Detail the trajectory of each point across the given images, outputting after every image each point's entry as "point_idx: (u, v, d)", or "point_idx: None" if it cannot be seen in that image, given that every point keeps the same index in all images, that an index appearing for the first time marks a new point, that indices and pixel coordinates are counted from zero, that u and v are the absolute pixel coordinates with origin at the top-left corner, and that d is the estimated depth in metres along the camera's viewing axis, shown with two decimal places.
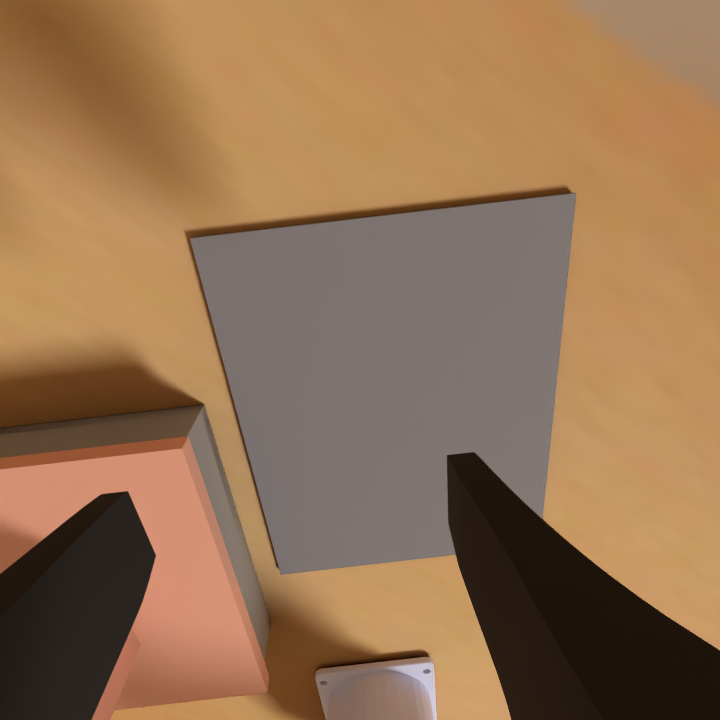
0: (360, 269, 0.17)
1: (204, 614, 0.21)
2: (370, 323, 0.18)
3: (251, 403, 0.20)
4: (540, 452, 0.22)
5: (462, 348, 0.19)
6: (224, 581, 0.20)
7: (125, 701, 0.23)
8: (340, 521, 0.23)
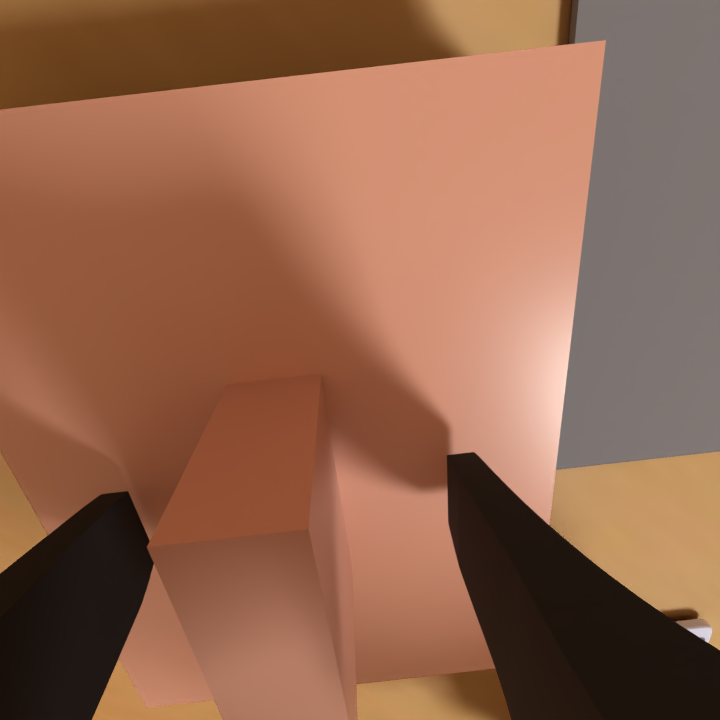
0: None
1: None
2: None
3: (603, 86, 0.10)
4: None
5: None
6: (552, 432, 0.10)
7: None
8: (667, 368, 0.13)
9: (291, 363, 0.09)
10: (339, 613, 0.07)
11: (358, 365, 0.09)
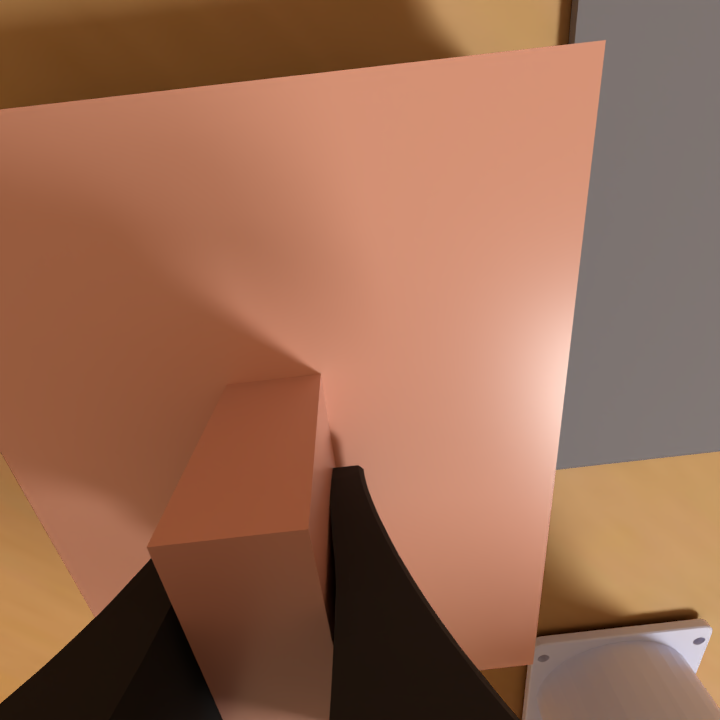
0: None
1: (487, 508, 0.11)
2: None
3: (603, 86, 0.10)
4: None
5: None
6: (551, 432, 0.10)
7: None
8: (667, 368, 0.13)
9: (291, 363, 0.09)
10: None
11: (358, 365, 0.09)
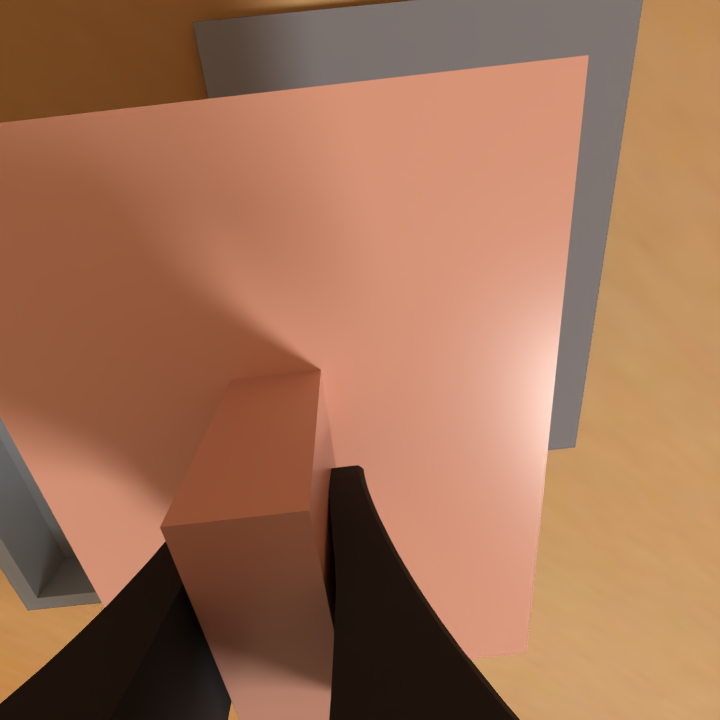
0: (390, 73, 0.15)
1: (480, 499, 0.11)
2: None
3: None
4: (583, 328, 0.19)
5: None
6: (542, 426, 0.10)
7: None
8: None
9: (292, 359, 0.09)
10: None
11: (356, 361, 0.09)
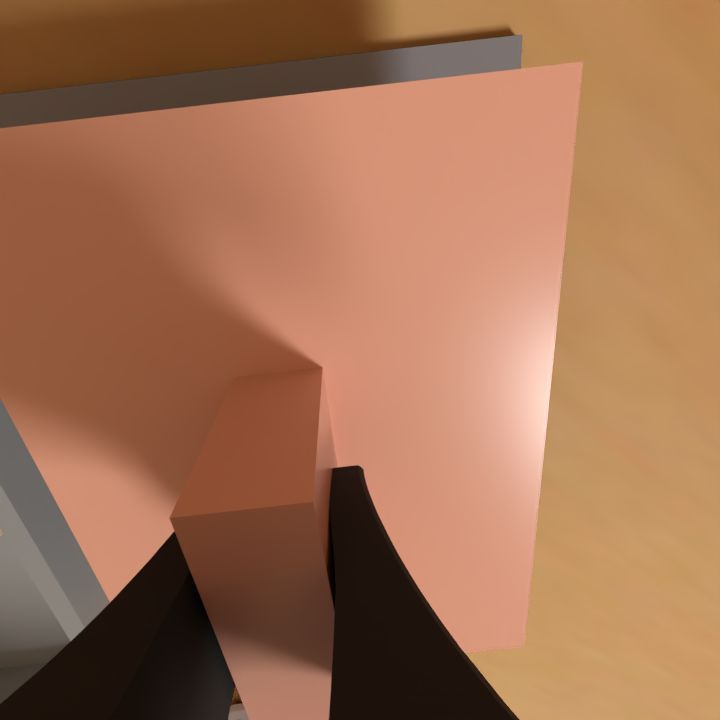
0: None
1: (479, 495, 0.12)
2: None
3: None
4: None
5: None
6: (539, 422, 0.11)
7: None
8: None
9: (295, 357, 0.10)
10: None
11: (357, 359, 0.10)
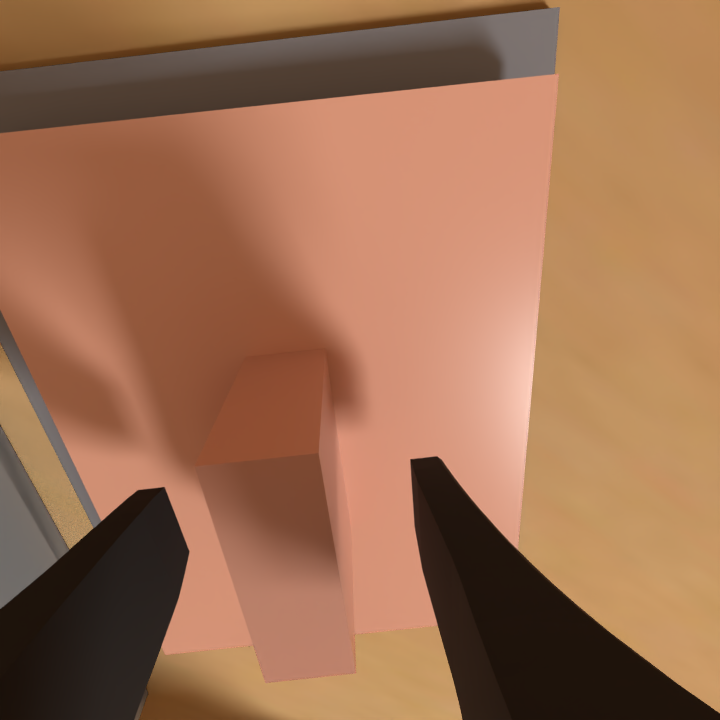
0: None
1: (468, 470, 0.13)
2: None
3: None
4: None
5: None
6: (523, 402, 0.12)
7: None
8: None
9: (300, 339, 0.11)
10: (340, 541, 0.09)
11: (357, 341, 0.11)
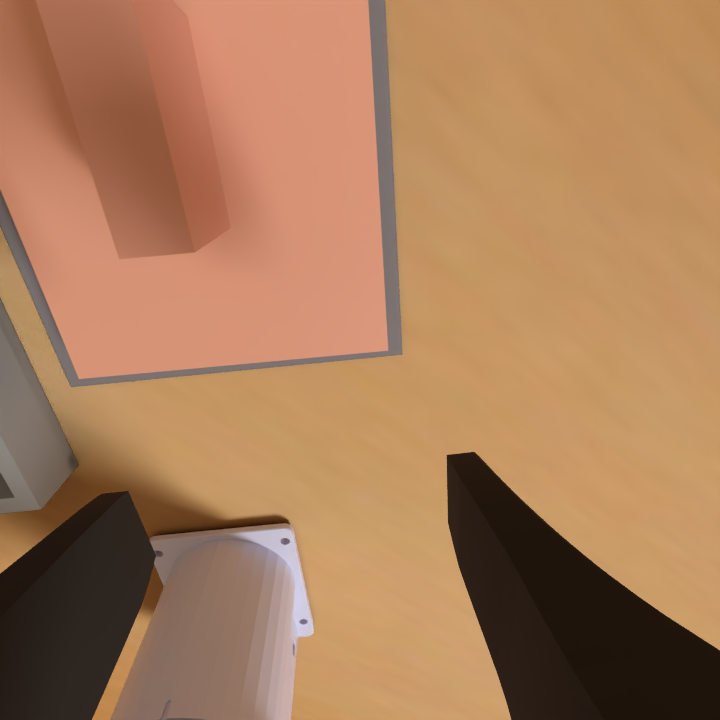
0: None
1: (328, 167, 0.14)
2: None
3: None
4: (382, 198, 0.16)
5: None
6: (367, 88, 0.13)
7: (196, 353, 0.17)
8: None
9: None
10: (178, 131, 0.11)
11: (214, 9, 0.12)
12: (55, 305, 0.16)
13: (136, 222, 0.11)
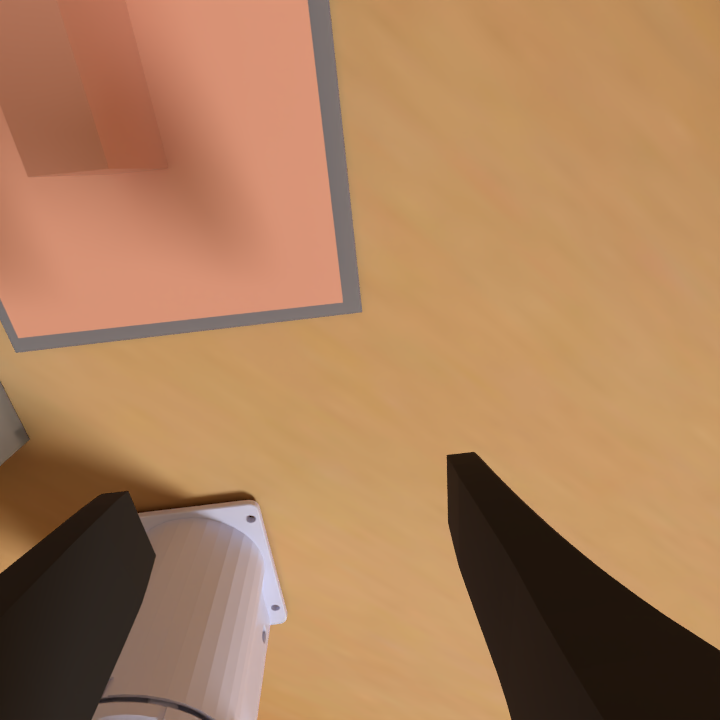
0: None
1: (267, 99, 0.14)
2: None
3: None
4: (331, 141, 0.16)
5: None
6: (302, 12, 0.13)
7: (140, 308, 0.16)
8: None
9: None
10: (88, 38, 0.10)
11: None
12: None
13: (43, 134, 0.10)
